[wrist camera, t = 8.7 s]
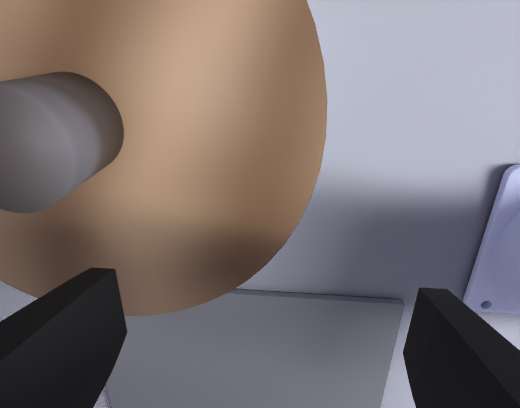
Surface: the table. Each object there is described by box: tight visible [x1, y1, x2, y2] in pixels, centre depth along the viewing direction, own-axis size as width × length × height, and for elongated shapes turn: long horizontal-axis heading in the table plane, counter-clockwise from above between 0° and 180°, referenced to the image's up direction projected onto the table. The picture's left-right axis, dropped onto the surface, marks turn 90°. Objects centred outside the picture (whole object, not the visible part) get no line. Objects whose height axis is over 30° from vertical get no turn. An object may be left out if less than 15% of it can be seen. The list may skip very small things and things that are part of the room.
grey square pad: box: [106, 289, 404, 408], centre depth 24 cm, size 18×18×1 cm
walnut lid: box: [0, 0, 327, 316], centre depth 10 cm, size 15×15×4 cm
